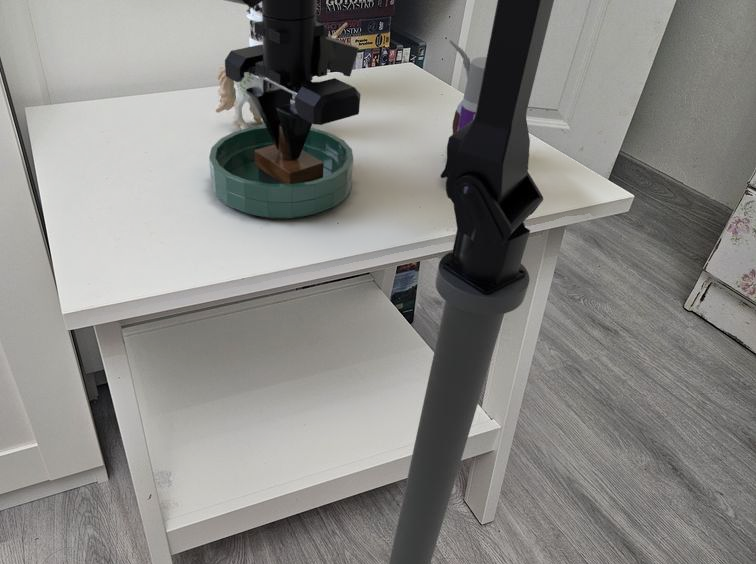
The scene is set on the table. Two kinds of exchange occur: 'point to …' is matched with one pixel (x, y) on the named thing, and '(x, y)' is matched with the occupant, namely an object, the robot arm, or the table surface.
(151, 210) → the table surface
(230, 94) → the unicorn figurine
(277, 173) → the scrub brush
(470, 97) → the container
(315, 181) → the wash bowl
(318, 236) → the table surface
